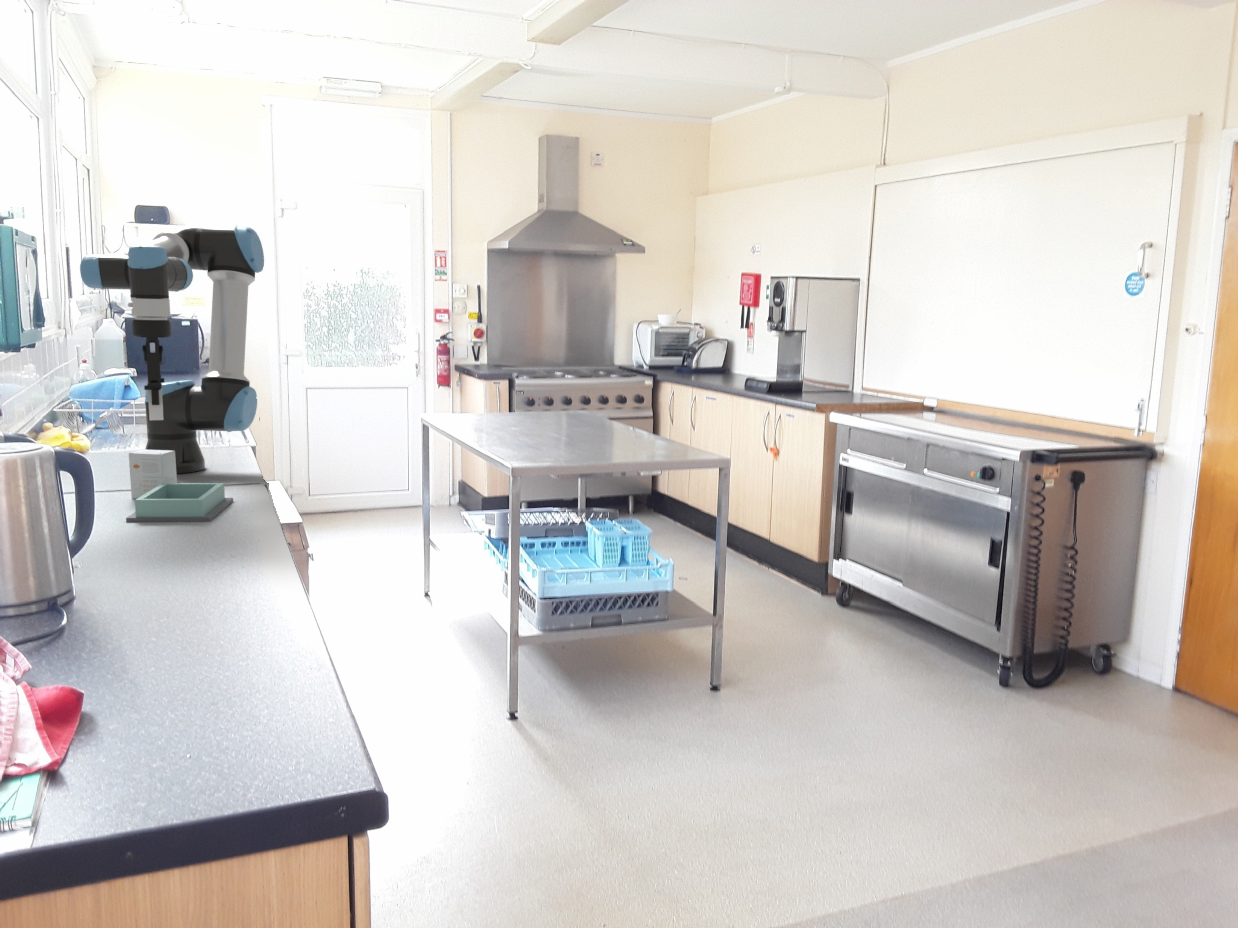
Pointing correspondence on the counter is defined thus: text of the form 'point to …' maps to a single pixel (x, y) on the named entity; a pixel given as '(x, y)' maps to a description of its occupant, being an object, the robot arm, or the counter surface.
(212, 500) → the caddy
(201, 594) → the counter surface
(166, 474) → the small box
